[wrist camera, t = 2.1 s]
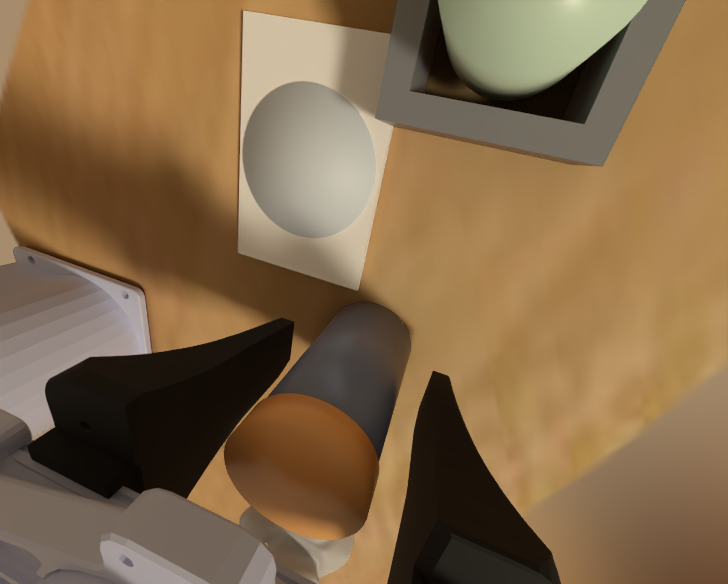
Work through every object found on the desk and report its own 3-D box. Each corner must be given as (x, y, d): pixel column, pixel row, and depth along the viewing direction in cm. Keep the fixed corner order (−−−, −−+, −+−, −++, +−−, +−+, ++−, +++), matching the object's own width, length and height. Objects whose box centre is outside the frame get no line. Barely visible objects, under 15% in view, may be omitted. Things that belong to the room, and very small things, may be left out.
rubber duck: (348, 536, 22) (290, 720, 14) (264, 488, 22) (170, 642, 15) (375, 493, 19) (322, 691, 12) (280, 441, 20) (177, 599, 13)
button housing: (393, 126, 11) (374, 118, 9) (445, -118, 9) (438, -218, 6) (571, 164, 10) (602, 166, 8) (693, -101, 8) (792, -214, 5)
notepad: (241, 251, 15) (236, 253, 15) (248, 14, 11) (241, 9, 11) (359, 288, 14) (356, 291, 14) (412, 40, 10) (410, 36, 10)
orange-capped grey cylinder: (322, 360, 16) (223, 499, 10) (335, 288, 14) (224, 398, 8) (400, 389, 16) (351, 561, 9) (424, 317, 14) (385, 465, 7)
